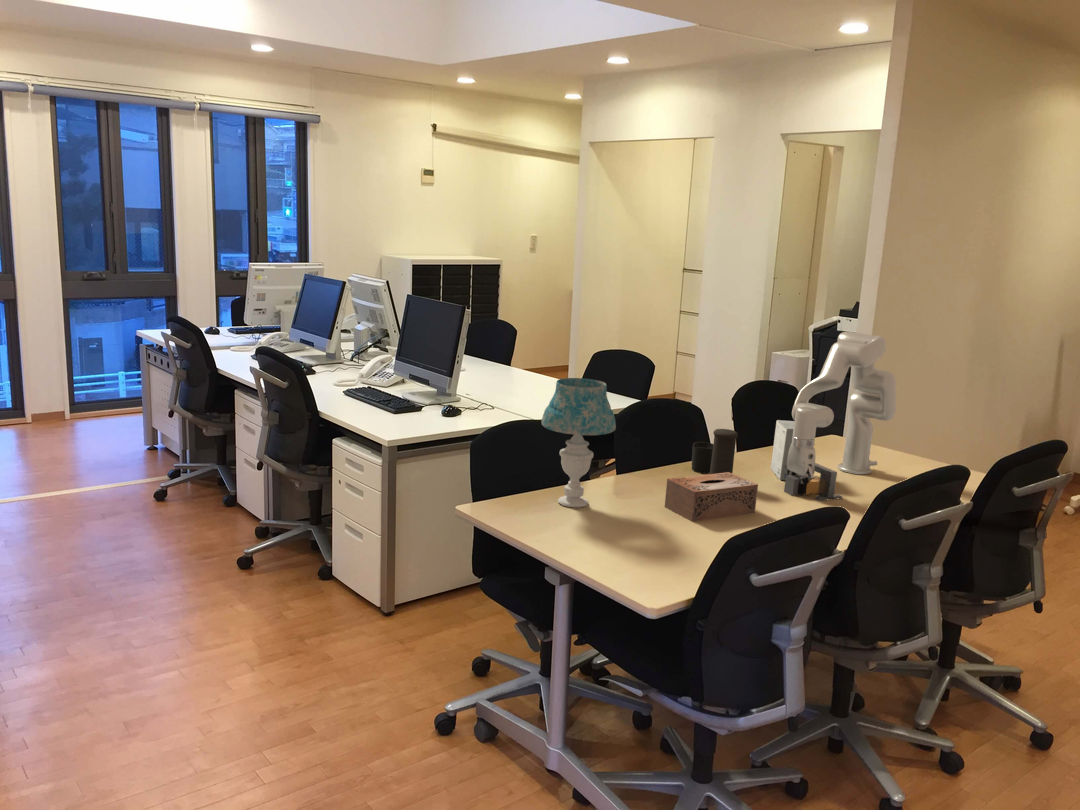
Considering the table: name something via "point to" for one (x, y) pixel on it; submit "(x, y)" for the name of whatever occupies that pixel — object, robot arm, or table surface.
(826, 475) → the bracket
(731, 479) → the tissue box cover
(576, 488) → the table lamp
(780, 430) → the hard drive box
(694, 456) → the pen holder
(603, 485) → the table surface
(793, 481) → the plug
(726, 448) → the container
